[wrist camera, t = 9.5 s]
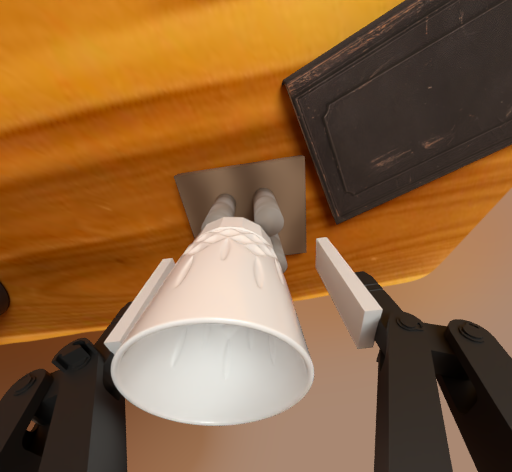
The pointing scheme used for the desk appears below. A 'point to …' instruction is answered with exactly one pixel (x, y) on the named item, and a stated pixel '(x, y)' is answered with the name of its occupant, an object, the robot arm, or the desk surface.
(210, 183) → the peg stand
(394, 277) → the desk surface
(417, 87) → the hardcover book
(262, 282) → the white cup
